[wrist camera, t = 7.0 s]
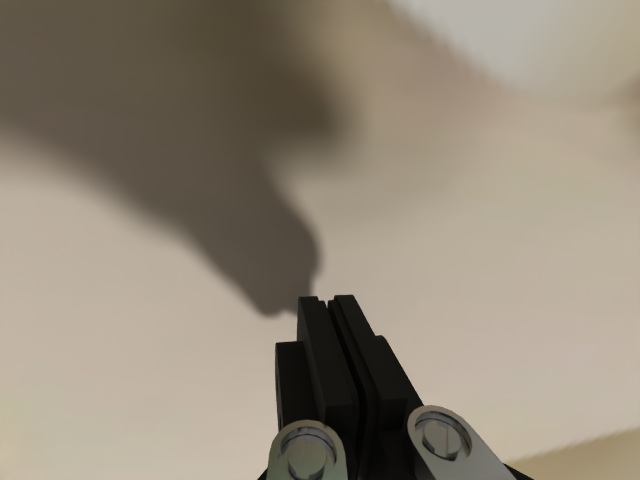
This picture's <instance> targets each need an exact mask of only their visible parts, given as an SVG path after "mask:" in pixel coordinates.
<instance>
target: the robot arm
mask: <svg viewBox="0 0 640 480" xmlns="http://www.w3.org/2000/svg"><path fill="white" fill-rule="evenodd" d="M275 381H276V401H277V415H278V430H279V433H278V434H277V436H276V437H275V439H274V440H273V442H272V445H271V449H270V452H269V461H268V468H267V469H266V470H265V471H264V472H263V474H262V475H261V476H260V477H259V478H258V479H257V480H534V479H532V478H530V477H528V476H526V475H524V474H522V473H520V472H519V471H517V470H515V469H513V468H511V467H509V466H508V465H506V464H504V463H502V462H501V461H500V460H499V458H498V457H497V456H496V455H495V454H494V453H493V451H492V450H491V449H490V448H489V447H488V446H487V444H486V443H485V442H484V441H483V440H482V439H481V437H480V436H479V435H478V434H477V433H476V432H475V430H474V429H473V428H472V427H471V426H470V425H469V424H468V423H467V422H466V421H465V420H464V419H463V418H462V417H460V416H459V415H457V414H456V413H454V412H453V411H451V410H448V409H446V408H443V407H440V406H433V405H428V406H424V405H423V403H422V401H421V399H420V398H419V396H418V394H417V392H416V391H415V389H414V387H413V386H412V384H411V382H410V380H409V379H408V377H407V375H406V373H405V372H404V370H403V368H402V366H401V365H400V363H399V361H398V359H397V358H396V356H395V354H394V353H393V351H392V349H391V347H390V346H389V344H388V342H387V340H386V339H385V338H384V336H382V335H378V336H375V334H374V332H373V331H372V329H371V327H370V325H369V323H368V321H367V319H366V318H365V316H364V314H363V312H362V310H361V308H360V306H359V305H358V303H357V301H356V299H355V297H354V296H353V295H335V296H334V300H329V301H328V306H327V307H326V304H325V302H324V301H319V300H318V297H317V296H310V297H299V300H298V320H297V341H293V342H279V343H276V346H275Z"/></svg>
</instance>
